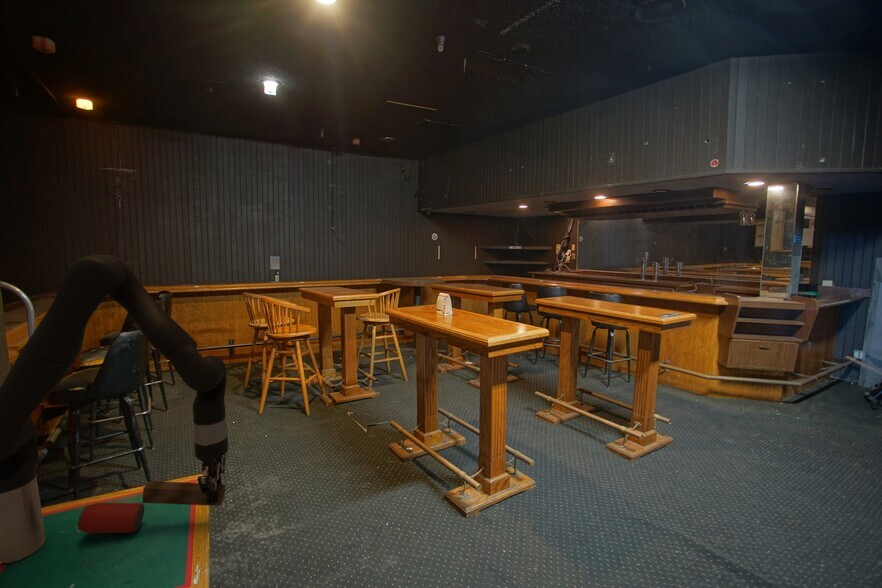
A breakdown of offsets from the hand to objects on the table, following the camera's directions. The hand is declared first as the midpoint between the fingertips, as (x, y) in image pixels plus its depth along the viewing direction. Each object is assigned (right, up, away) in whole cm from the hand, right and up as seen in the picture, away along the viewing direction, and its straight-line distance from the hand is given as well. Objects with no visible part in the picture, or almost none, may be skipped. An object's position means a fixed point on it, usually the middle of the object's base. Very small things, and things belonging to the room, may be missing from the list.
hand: (214, 498), depth 110 cm
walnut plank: (-7, 0, -1) cm, 7 cm away
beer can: (-17, -4, -2) cm, 18 cm away
